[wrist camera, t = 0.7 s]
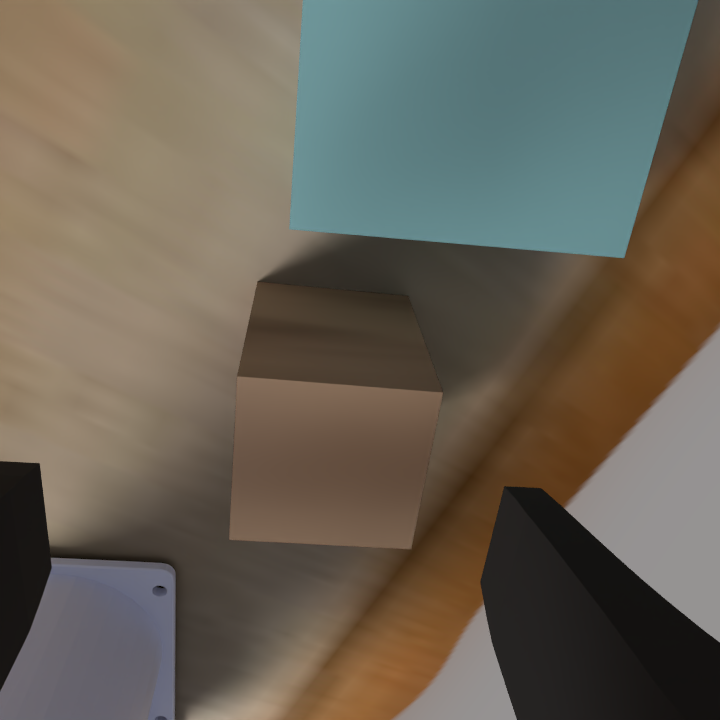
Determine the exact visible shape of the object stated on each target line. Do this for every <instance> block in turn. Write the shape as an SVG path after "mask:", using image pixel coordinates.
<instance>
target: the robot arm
mask: <svg viewBox="0 0 720 720" xmlns="http://www.w3.org/2000/svg"><path fill="white" fill-rule="evenodd" d="M157 586H163V587H165V588H158V587H157ZM481 588H482V594H483V599H484V605H485V610H486V616H487V621H488V625H489V630H490V635H491V639H492V643H493V647H494V650H495V653H496V656H497V659H498V663H499V666H500V669H501V672H502V675H503V678H504V681H505V685H506V688H507V691H508V694H509V697H510V700H511V703H512V706H513V709H514V712H515V715H516V718H517V720H720V642H718V641H717V640H716V639H714V638H713V637H712V636H710V635H709V634H707V633H706V632H705V631H704V630H702V629H701V628H700V627H699V626H697V625H696V624H695V623H694V622H692V621H691V620H690V619H689V618H688V617H686V616H685V615H684V614H683V613H681V612H680V611H679V610H678V609H676V608H675V607H674V606H673V605H672V604H670V603H669V602H668V601H667V600H665V599H664V598H663V597H662V596H661V595H659V594H658V593H657V592H656V591H655V590H654V589H652V588H651V587H650V586H649V585H648V584H647V583H645V582H644V581H643V580H642V579H641V578H640V577H639V576H637V575H636V574H635V573H634V572H633V571H632V570H631V569H629V568H628V567H627V566H626V565H625V564H624V563H622V561H621V560H619V559H618V558H617V557H616V556H615V555H614V554H613V553H612V552H611V551H609V550H608V549H607V548H606V547H605V546H604V545H603V544H602V543H601V542H600V541H599V540H597V539H596V538H595V537H594V536H593V535H592V534H591V533H590V532H589V531H588V530H587V529H585V528H584V527H583V526H582V525H581V524H580V523H579V522H578V521H577V520H576V519H575V518H574V517H573V516H571V515H570V514H569V513H568V512H567V511H566V510H565V509H564V508H563V507H562V506H561V505H560V504H558V503H557V502H556V501H555V500H554V499H553V498H552V497H551V496H549V495H548V494H547V493H546V492H545V491H543V490H542V489H541V488H526V487H506V486H504V490H503V494H502V498H501V502H500V506H499V510H498V514H497V518H496V522H495V526H494V530H493V534H492V538H491V542H490V546H489V550H488V554H487V558H486V562H485V566H484V570H483V574H482V578H481ZM175 619H176V573H175V570H174V569H173V567H172V566H170V565H168V564H165V563H154V562H133V561H111V560H90V559H69V558H51V556H50V548H49V539H48V531H47V522H46V514H45V505H44V497H43V488H42V480H41V471H40V463H23V462H3V461H0V720H175Z"/></svg>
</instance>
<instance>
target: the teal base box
mask: <svg viewBox="0 0 720 720" xmlns="http://www.w3.org/2000/svg"><path fill="white" fill-rule="evenodd" d="M697 3H698V0H303V8H302V25H301V42H300V59H299V76H298V93H297V109H296V126H295V143H294V160H293V177H292V194H291V211H290V228H289V229H292V230H304V231H315V232H327V233H339V234H350V235H362V236H374V237H385V238H397V239H409V240H420V241H432V242H443V243H455V244H467V245H478V246H490V247H502V248H513V249H525V250H537V251H548V252H560V253H571V254H583V255H595V256H606V257H618V258H624V257H625V253H626V250H627V246H628V243H629V239H630V236H631V232H632V229H633V225H634V222H635V218H636V215H637V211H638V208H639V204H640V201H641V198H642V194H643V191H644V187H645V184H646V180H647V177H648V173H649V170H650V166H651V163H652V159H653V156H654V152H655V149H656V145H657V142H658V138H659V135H660V132H661V128H662V125H663V121H664V118H665V114H666V111H667V107H668V104H669V100H670V97H671V93H672V90H673V86H674V83H675V79H676V76H677V72H678V69H679V66H680V62H681V59H682V55H683V52H684V48H685V45H686V41H687V38H688V34H689V31H690V27H691V24H692V20H693V17H694V13H695V10H696V7H697Z"/></svg>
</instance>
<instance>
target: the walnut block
mask: <svg viewBox="0 0 720 720" xmlns="http://www.w3.org/2000/svg"><path fill="white" fill-rule="evenodd" d="M442 396H443V391H442V388H441V385H440V383H439V380H438V377H437V374H436V371H435V369H434V366H433V363H432V360H431V358H430V355H429V352H428V349H427V347H426V344H425V341H424V338H423V336H422V333H421V330H420V327H419V325H418V322H417V319H416V316H415V314H414V311H413V308H412V305H411V303H410V300H409V297H408V296H403V295H393V294H382V293H372V292H361V291H351V290H340V289H330V288H319V287H309V286H298V285H288V284H277V283H267V282H257V287H256V291H255V296H254V301H253V305H252V310H251V315H250V319H249V324H248V329H247V333H246V338H245V342H244V347H243V352H242V356H241V361H240V366H239V370H238V375H237V390H236V410H235V430H234V450H233V470H232V490H231V510H230V530H229V540H241V541H261V542H280V543H299V544H319V545H338V546H357V547H377V548H396V549H411V547H412V542H413V537H414V532H415V528H416V523H417V518H418V513H419V508H420V503H421V498H422V493H423V489H424V484H425V479H426V474H427V469H428V464H429V459H430V455H431V450H432V445H433V440H434V435H435V430H436V425H437V420H438V416H439V411H440V406H441V401H442Z"/></svg>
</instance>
